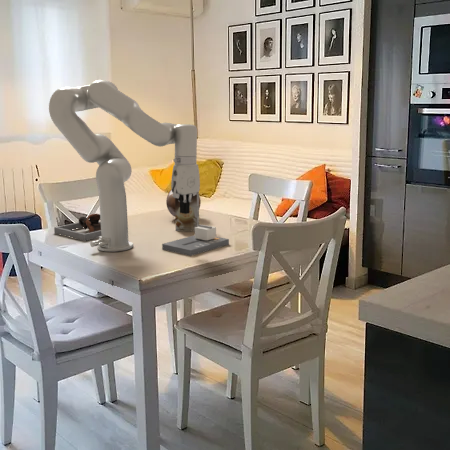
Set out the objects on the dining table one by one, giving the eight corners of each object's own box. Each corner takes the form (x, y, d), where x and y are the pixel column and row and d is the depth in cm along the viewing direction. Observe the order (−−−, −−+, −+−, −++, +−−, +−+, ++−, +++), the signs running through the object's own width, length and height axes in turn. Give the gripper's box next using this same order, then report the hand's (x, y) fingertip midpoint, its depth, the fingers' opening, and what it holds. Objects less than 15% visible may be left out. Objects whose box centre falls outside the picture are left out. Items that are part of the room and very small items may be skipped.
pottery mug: (109, 229, 245) (110, 214, 240) (101, 244, 238) (102, 229, 232) (81, 222, 245) (82, 207, 240) (73, 236, 238) (73, 221, 233)
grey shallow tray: (84, 241, 224) (84, 234, 223) (54, 233, 237) (54, 227, 236) (122, 232, 237) (121, 226, 237) (91, 225, 250) (91, 219, 250)
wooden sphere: (159, 219, 260) (158, 185, 257) (182, 214, 272) (181, 181, 269) (185, 223, 251) (184, 188, 248) (207, 217, 263) (207, 184, 260)
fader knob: (206, 240, 213) (206, 228, 212) (194, 238, 217) (194, 225, 216) (216, 237, 217) (216, 225, 216) (204, 235, 221) (203, 223, 220)
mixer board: (190, 256, 202) (190, 250, 201) (162, 249, 211) (162, 243, 210) (228, 244, 217) (228, 238, 216) (200, 238, 226) (200, 233, 225)
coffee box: (175, 231, 238) (173, 191, 235) (177, 227, 245) (176, 189, 241) (197, 231, 237) (196, 191, 234) (199, 227, 244) (199, 189, 240)
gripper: (177, 163, 196) (176, 217, 200) (208, 160, 207) (206, 211, 211) (162, 161, 201) (161, 214, 205) (192, 158, 212) (191, 208, 216)
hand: (184, 212), depth 208 cm, fingers closed
